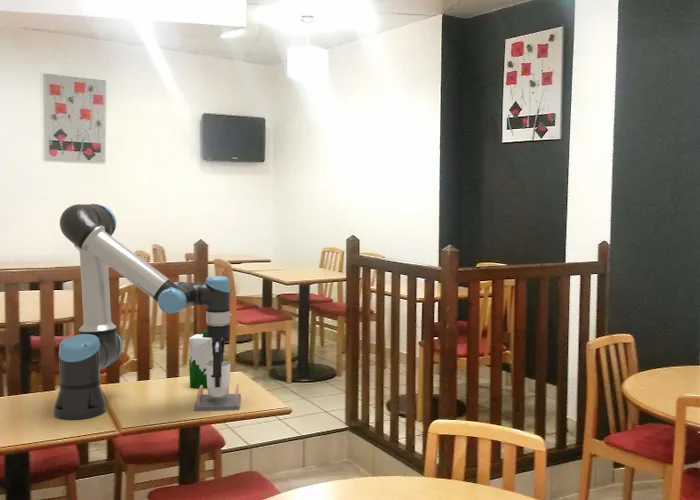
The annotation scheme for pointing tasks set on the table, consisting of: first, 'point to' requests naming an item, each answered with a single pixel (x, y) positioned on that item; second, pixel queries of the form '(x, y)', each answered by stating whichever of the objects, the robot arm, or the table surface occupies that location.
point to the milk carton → (199, 358)
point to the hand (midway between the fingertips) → (218, 392)
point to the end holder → (217, 401)
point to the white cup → (225, 377)
